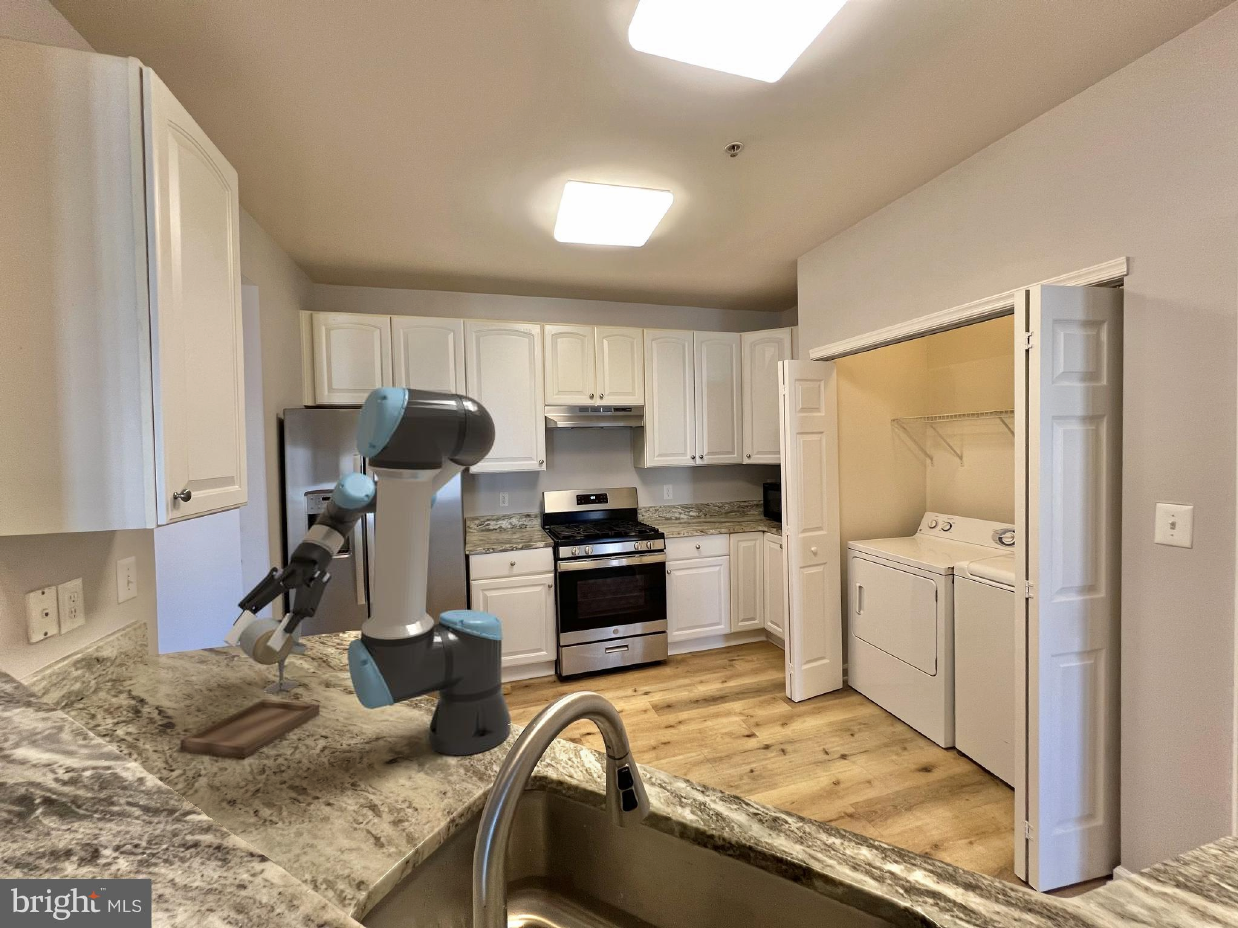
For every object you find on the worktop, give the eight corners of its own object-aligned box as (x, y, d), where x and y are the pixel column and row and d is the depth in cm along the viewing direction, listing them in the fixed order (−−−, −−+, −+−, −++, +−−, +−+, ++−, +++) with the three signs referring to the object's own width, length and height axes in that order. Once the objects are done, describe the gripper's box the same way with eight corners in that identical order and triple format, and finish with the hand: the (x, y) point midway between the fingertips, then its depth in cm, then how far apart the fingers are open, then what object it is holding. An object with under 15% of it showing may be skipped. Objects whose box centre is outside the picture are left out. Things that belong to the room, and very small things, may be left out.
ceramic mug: (252, 671, 96) (254, 630, 96) (238, 660, 101) (240, 621, 101) (313, 657, 104) (315, 619, 104) (298, 647, 109) (299, 611, 109)
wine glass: (303, 687, 120) (304, 623, 121) (262, 696, 115) (263, 630, 115) (298, 677, 126) (298, 616, 127) (258, 685, 121) (259, 622, 121)
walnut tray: (319, 714, 106) (319, 704, 106) (244, 758, 90) (244, 747, 90) (263, 708, 109) (263, 699, 109) (180, 750, 93) (180, 739, 93)
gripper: (368, 562, 114) (310, 659, 98) (285, 558, 118) (217, 650, 103) (351, 542, 108) (286, 640, 93) (265, 538, 113) (190, 632, 98)
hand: (250, 645), depth 98 cm, fingers closed on ceramic mug, 9 cm apart
